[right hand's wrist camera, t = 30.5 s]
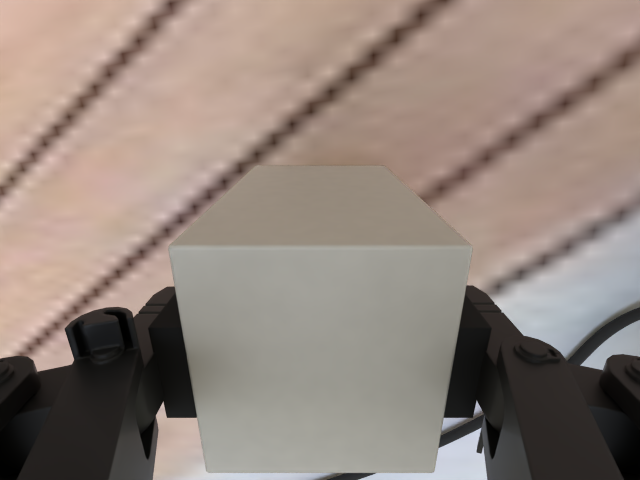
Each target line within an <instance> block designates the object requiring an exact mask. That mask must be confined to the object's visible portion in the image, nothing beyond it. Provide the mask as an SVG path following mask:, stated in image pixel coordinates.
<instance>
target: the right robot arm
mask: <svg viewBox="0 0 640 480" xmlns="http://www.w3.org/2000/svg"><path fill="white" fill-rule="evenodd" d="M638 320H640V307H639V308H637V309H634V310H632V311H630V312H627V313H625V314H623V315H621V316H620V317H618V318H616V319H614V320H613V321H611V322H610V323H608V324H607V325H605V326H604V327H603V328H601V329H600V330H599V331H597V332H596V333H595V334H594V335H593V336H592V337H591V338H589V339H588V340H587V341H586V342H585V343H584V344H583V345H582V346H581V347H580V349H579V350H578V351H577V352H576V353H575V354H574V355H573V356H572V357H571V358H570V359H569V360H568V361H566V359H565V358H564V357H563V355H562V354H561V353H560V352H559V351H558V350H557V349H555V348H554V347H552V346H551V345H549V344H547V343H545V342H543V341H541V340H538V339H535V338H531V337H527V336H523V335H522V333H521V332H520V331H519V330H518V329H517V328H516V327H515V326H514V324H513V323H512V322H511V321H510V320H509V319H508V318H507V316H506V315H505V314H504V313H501V310H500V309H499V307H498V306H497V305H495V304H494V302H493V301H492V300H491V298H490V297H489V296H488V295H487V294H486V293H484V292H483V291H481V290H479V289H478V288H476V287H474V286H466V291H465V296H464V302H463V308H462V314H461V320H460V325H459V331H458V337H457V343H456V349H455V354H454V360H453V366H452V372H451V378H450V383H449V389H448V395H447V401H446V407H445V412H444V418H473V414H474V409H475V405H476V400H477V401H478V403H479V405H480V407H481V409H482V411H483V413H484V415H482V416H480V417H478V418H476V419H474V420H472V421H470V422H468V423H466V424H464V425H462V426H460V427H458V428H456V429H454V430H452V431H450V432H448V433H446V434H444V435H441V436H440V441H439V447H438V448H440V447H442V446H444V445H446V444H449V443H451V442H453V441H455V440H457V439H459V438H461V437H463V436H465V435H467V434H470V433H472V432H474V431H476V430H478V429H479V428H481V427H482V428H481V432H480V437H479V441H478V446H477V453H482V449H483V446H484V454H485V462H486V471H487V479H488V480H640V357H638V356H631V355H624V354H620V355H612V356H611V357H609V358H608V359H607V360H606V363H605V366H604V369H603V370H599V369H594V368H589V367H584V366H580V365H581V364H582V363H583V362H584V361H585V360H586V359H587V358H588V357H589V356H590V355H591V354H592V353H593V352H594V351H595V350H596V349H597V348H598V347H599V346H600V345H601V344H602V343H603V342H604V341H606V340H607V339H608V338H609V337H611V336H612V335H613V334H615V333H616V332H618V331H619V330H621V329H623V328H624V327H626V326H628V325H630V324H631V323H634V322H636V321H638ZM65 332H66V335H67V338H68V341H69V344H70V347H71V350H72V354H73V357H74V362H73V364H72V365H68V366H64V367H59V368H54V369H49V370H44V371H39V372H37V370H36V367H35V364H34V361H33V360H32V359H30V358H29V357H24V356H14V357H7V358H1V359H0V480H153V472H154V463H155V455H156V447H157V438H158V424H157V419H156V414H157V412H158V410H159V408H160V406H161V405H162V403H163V401H164V406H165V411H166V415H167V418H197V414H196V408H195V402H194V396H193V390H192V384H191V379H190V373H189V367H188V361H187V355H186V349H185V343H184V338H183V332H182V326H181V320H180V314H179V308H178V302H177V297H176V291H175V287H166V288H164V289H163V290H161V291H159V292H158V293H156V294H154V295H153V296H152V297H151V299H150V300H149V301H148V302H147V303H146V305H145V306H143V308H142V309H141V310H140V311H139V314H136V316H135V317H134V318H133V314H132V312H131V311H130V310H128V309H127V308H121V307H109V308H103V309H99V310H94V311H92V312H89V313H86V314H84V315H81V316H80V317H78V318H77V319H75V320H73V321H72V322H70V324H69V325H68V326H67V327H66V328H65ZM373 474H375V473H346V474H343V475H340V476H337V477H334V478H331V479H328V480H358V479H361V478H364V477H367V476H370V475H373Z"/></svg>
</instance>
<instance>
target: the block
mask: <svg viewBox="0 0 640 480" xmlns="http://www.w3.org/2000/svg"><path fill="white" fill-rule="evenodd" d="M168 250H169V256H170V262H171V267H172V273H173V279H174V285H175V291H176V297H177V302H178V308H179V314H180V320H181V326H182V332H183V338H184V343H185V349H186V355H187V361H188V367H189V373H190V379H191V384H192V390H193V396H194V402H195V408H196V414H197V419H198V425H199V431H200V437H201V443H202V449H203V455H204V460H205V466H206V471H207V472H208V473H433V472H434V470H435V465H436V459H437V453H438V447H439V441H440V436H441V430H442V424H443V418H444V412H445V407H446V401H447V395H448V389H449V383H450V378H451V372H452V366H453V360H454V354H455V349H456V343H457V337H458V331H459V325H460V320H461V314H462V308H463V302H464V296H465V291H466V285H467V279H468V273H469V267H470V262H471V256H472V250H473V248H472V245H471V244H470V243H469V242H467V241H466V240H465V239H464V238H463V237H462V236H461V235H460V234H459V233H458V232H457V231H455V230H454V229H453V228H452V227H451V226H450V225H449V224H448V223H447V222H446V221H445V220H443V219H442V218H441V217H440V216H439V215H438V214H437V213H436V212H435V211H434V210H433V209H431V208H430V207H429V206H428V205H427V204H426V203H425V202H424V201H423V200H422V199H421V198H419V197H418V196H417V195H416V194H415V193H414V192H413V191H412V190H411V189H410V188H409V187H407V186H406V185H405V184H404V183H403V182H402V181H401V180H400V179H399V178H398V177H397V176H396V175H394V174H393V173H392V172H391V171H390V170H389V169H388V168H387V167H386V166H255V167H254V168H253V169H252V170H250V171H249V172H248V173H247V174H246V175H245V176H244V177H243V178H242V179H241V180H240V181H239V182H237V183H236V184H235V185H234V186H233V187H232V188H231V189H230V190H229V191H228V192H227V193H226V194H224V195H223V196H222V197H221V198H220V199H219V200H218V201H217V202H216V203H215V204H214V205H213V206H211V207H210V208H209V209H208V210H207V211H206V212H205V213H204V214H203V215H202V216H201V217H199V218H198V219H197V220H196V221H195V222H194V223H193V224H192V225H191V226H190V227H189V228H188V229H186V230H185V231H184V232H183V233H182V234H181V235H180V236H179V237H178V238H177V239H176V240H175V241H173V242H172V243H171V244H170V245H169V248H168Z"/></svg>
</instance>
